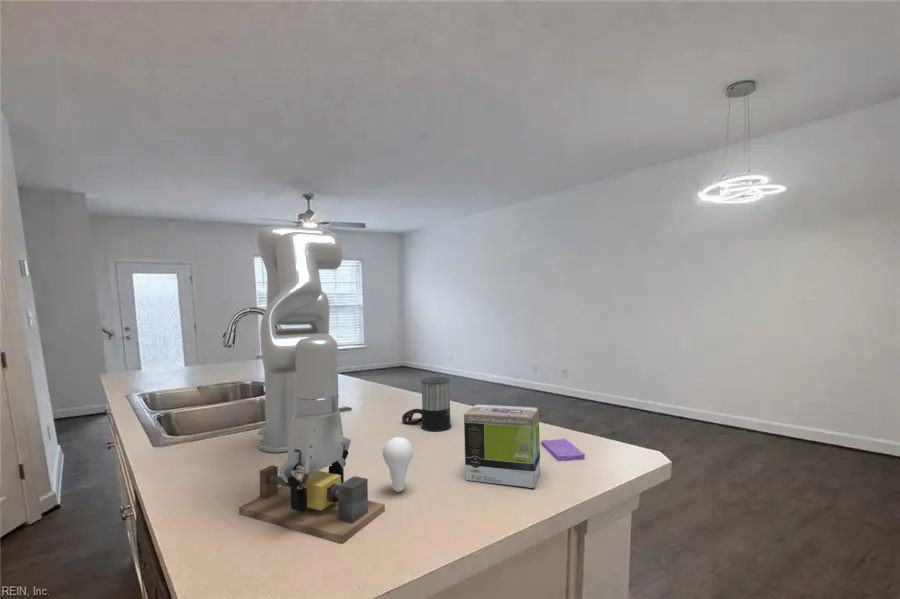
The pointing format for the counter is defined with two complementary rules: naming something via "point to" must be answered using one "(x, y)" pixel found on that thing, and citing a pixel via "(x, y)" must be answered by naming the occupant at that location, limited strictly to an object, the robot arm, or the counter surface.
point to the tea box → (502, 445)
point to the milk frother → (433, 405)
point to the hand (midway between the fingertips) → (318, 498)
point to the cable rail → (328, 523)
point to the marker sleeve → (320, 489)
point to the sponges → (562, 450)
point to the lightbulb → (398, 460)
